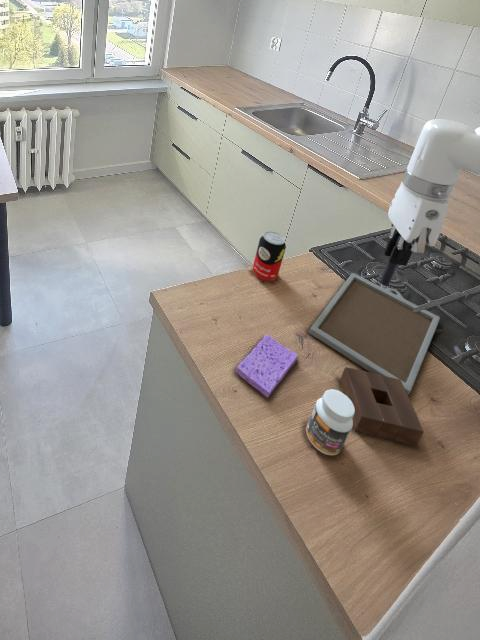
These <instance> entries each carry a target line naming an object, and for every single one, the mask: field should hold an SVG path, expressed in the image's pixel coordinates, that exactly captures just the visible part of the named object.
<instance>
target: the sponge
mask: <svg viewBox="0 0 480 640" xmlns="http://www.w3.org/2000/svg"><path fill="white" fill-rule="evenodd" d="M298 356H299V354H297V353H296V352H295V351H292V350H291V349H290V348H288V347H286V346H284V345H282V344H281V343H280V342H278V341H277V340H276V339H274V338H273V337H272V336H270V335H268V334H267V333H266V334H265V335H264V336H263V338H262V339H261V340H260V341H259V343H258V344H257V345H256V346H255V347H254V348H253V349H252V350H251V352H250V353H249V354H248V355H247V356H246V357H245V358H243V360H242V361H240V363H239V364H238V366H237V367H236V369H235V372H236V373H237V375H239V377H241V378H242V379H243V380H244V381H246V382H247V383H248V384H249V385H251V386H252V387H253V388H254V389H256V390H257V391H258V392H259V393H261V394H262V395H263V396H265V398H269V397H270V395H271V394H272V393H273V392H274V390H275V388H277V386H278V385H279V383H281V382H282V380H283V379H284V378H285V376H286V374H287V373H288V372H289V371H290V369H291V368H292V367H293V366H294V365H295V364H296V362H297V359H298Z"/></svg>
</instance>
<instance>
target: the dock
mask: <svg viewBox="0 0 480 640" xmlns="http://www.w3.org/2000/svg"><path fill="white" fill-rule="evenodd" d="M339 383H340V386H341V389H342V393H343V394H345V395H346V396H347V397H348V398H349V399H350V400H351V401H352V403H353V405H354V408H355V413H354V415H353V418H352V419H353V427H354V431H357V432H361V433H364V434H368V435H372V436H377V437H379V438H384V439H388V440H392V441H396V442H399V443H404V444H407V445H410V446H417V445H418V443H419V441H420V440H421V438H422V436H423V435H424V433H425V431H424V429H423V426H422V424H421V421H420V419H419V418H418V415H417V413H416V411H415V409H414V406H413V404H412V402H411V399H410V398H409V395H407V393H406V391H405V389H404V386H403V384H402V382H401V380H400V379H396V378H391V377H387V376H383V375H378V374H374V373H370V372H369V371H365V370H360V369H356V368H351V367H347V366H345V367H344V369H343V371H342V374H341V376H340V379H339Z"/></svg>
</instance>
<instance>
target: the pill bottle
mask: <svg viewBox="0 0 480 640" xmlns="http://www.w3.org/2000/svg"><path fill="white" fill-rule="evenodd" d="M354 413H355V408H354V405H353V403H352V401H351V400H350V399H349V398H348V397H347V396H346V395H345V394H344V392H343V391H340V390H337V389H326V391H324V392H323V394H322V396H321V397H319V398H318V399H317V400H316V402H315V405H314V407H313V410H312V412H311V415H310V417H309V419H308V422H307V424H306V428H305V431H306V436H307V438H308V440H309V442H310V443H311V445H312V446H313V447H314V448H315V449H316V450H318V451H319V452H320V453H322V454H324V455H327V456H336V455H338V454H339V453H340V452H341V451H342V449H343V447H344V445H345V443H346V441H347V439H348V437H349V435H350V433H351V431H352V430H353V427H354V425H353V419H352V418H353V415H354Z"/></svg>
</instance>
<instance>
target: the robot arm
mask: <svg viewBox="0 0 480 640" xmlns="http://www.w3.org/2000/svg"><path fill="white" fill-rule="evenodd" d="M463 170H464V171H466V172H468V173H471V174H473V175H476V176H479V177H480V126H479V127H477V128H475V129H474V128H472V126H470V125H467V124H466V123H462V122H459V121H456V120H452V119H446V118H433V119H429V120H428V121H426V122H425V123H424V125H423V127H422V129H421V132H420V134H419V136H418V139H417V142H416V144H415V146H414V150H413V151H412V154H411V157H410V160H409V162H408V165H407V167H406V169H405V171H404V175H403V177H402V180H401V182H400V185H399V187H398V188H397V190H396V192H395V194H394V196H393V198H392V201H391V202H390V205H389V209H388V213H387V217H388V219H389V220H390V223H391V225H390V227H391V228H390V232H389V239H388V242H387V244H386V246H385V249H384V250H383V254H384V256H386V257H388V260H387V262H388V261H389V262H390V263H391V264H397V266H404V267H406V266H407V265H408V263H409V261H410V259H411V256H412V254H413V253H414V254H419V255H424V253H425V248H426V246H429V247H431V248H433V247H434V246H436V244H437V242H438V239H439V237H440V234H441V232H442V229H443V226H444V224H445V220H446V218H447V217H446V216H447V212H448V209H449V201H448V200H449V199H450V197H451V194H452V192H453V190H454V188H455V186H456V184H457V182H458V180H459V177H460V175H461V173H462V171H463ZM399 236H401V238H400V240H399V242H398V245H397V246H395V244H396V242H397V240H398V237H399ZM406 241H407V243H406Z"/></svg>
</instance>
